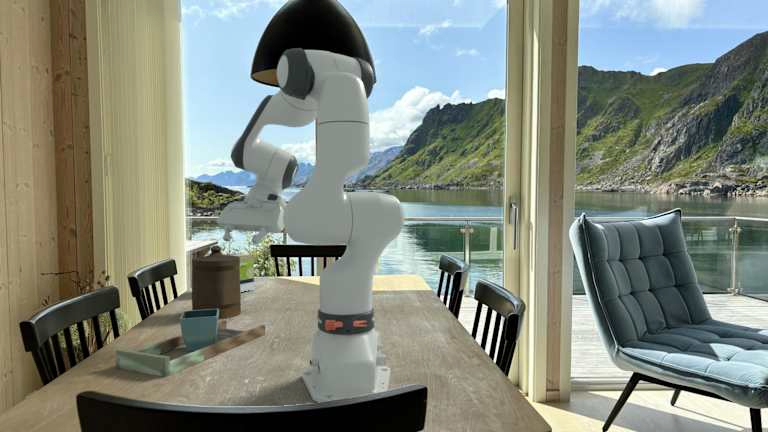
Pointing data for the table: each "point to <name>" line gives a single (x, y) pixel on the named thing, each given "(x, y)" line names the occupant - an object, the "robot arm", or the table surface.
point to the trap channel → (162, 366)
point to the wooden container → (216, 283)
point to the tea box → (246, 271)
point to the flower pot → (199, 328)
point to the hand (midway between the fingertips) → (240, 241)
